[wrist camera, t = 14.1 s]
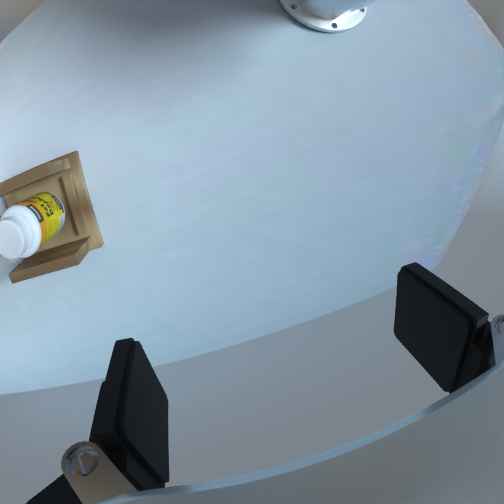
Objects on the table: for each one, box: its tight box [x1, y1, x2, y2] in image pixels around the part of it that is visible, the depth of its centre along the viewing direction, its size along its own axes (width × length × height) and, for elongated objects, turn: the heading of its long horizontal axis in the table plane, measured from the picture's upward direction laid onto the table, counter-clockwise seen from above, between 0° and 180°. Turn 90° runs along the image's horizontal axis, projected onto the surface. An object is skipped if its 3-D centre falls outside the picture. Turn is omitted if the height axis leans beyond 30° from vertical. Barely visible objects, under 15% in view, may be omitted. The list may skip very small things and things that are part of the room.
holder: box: [0, 151, 104, 284], centre depth 30 cm, size 12×12×7 cm
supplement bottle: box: [0, 192, 65, 259], centre depth 27 cm, size 6×6×10 cm
